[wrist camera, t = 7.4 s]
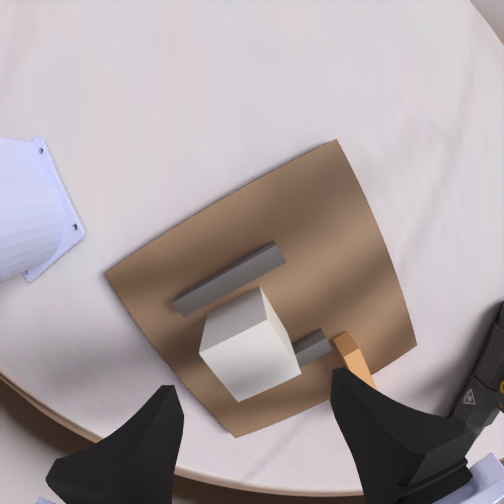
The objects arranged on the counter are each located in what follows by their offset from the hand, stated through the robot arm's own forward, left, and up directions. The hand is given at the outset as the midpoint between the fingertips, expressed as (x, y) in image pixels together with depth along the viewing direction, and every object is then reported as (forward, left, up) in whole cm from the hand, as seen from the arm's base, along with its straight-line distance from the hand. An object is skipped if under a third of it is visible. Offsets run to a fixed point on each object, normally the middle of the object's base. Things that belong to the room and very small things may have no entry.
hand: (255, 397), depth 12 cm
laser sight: (+23, +19, -9) cm, 31 cm away
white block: (0, 0, -8) cm, 8 cm away
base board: (+1, +2, -9) cm, 9 cm away
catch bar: (+9, +5, -8) cm, 13 cm away
